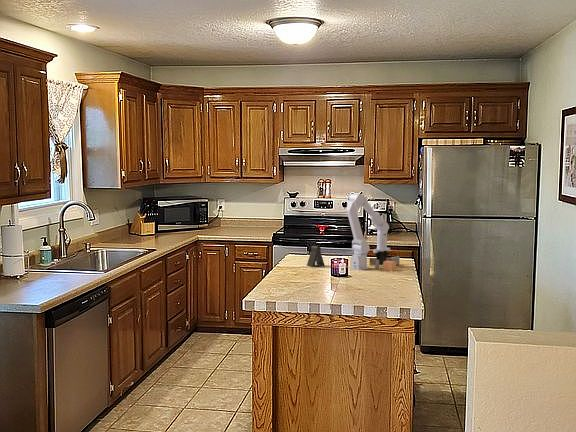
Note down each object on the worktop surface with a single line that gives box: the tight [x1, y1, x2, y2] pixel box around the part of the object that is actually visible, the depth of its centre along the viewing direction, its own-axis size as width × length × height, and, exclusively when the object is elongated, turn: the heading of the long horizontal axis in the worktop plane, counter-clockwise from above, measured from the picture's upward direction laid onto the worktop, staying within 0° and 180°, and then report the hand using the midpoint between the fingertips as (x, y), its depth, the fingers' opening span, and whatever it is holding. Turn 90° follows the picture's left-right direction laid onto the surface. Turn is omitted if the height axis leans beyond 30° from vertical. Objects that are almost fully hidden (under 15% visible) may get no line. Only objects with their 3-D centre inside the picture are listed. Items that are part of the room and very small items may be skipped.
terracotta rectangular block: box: [382, 261, 397, 272], centre depth 359 cm, size 4×6×5 cm, turn 45°
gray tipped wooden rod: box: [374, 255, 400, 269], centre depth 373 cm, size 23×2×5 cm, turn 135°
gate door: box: [368, 257, 392, 266], centre depth 375 cm, size 14×1×4 cm, turn 93°
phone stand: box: [306, 245, 326, 268], centre depth 372 cm, size 9×6×12 cm, turn 120°
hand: (381, 264), depth 371 cm, fingers open, 3 cm apart
